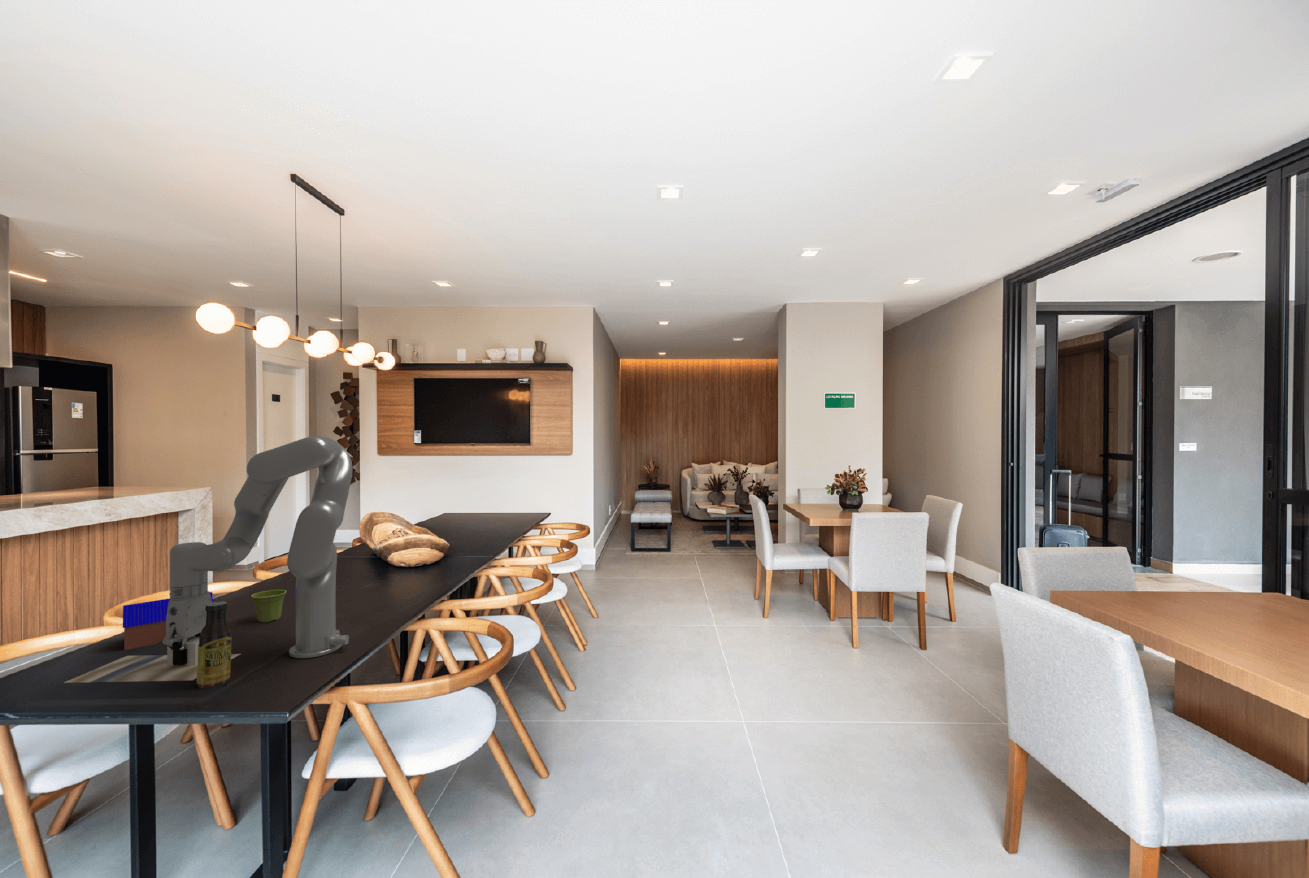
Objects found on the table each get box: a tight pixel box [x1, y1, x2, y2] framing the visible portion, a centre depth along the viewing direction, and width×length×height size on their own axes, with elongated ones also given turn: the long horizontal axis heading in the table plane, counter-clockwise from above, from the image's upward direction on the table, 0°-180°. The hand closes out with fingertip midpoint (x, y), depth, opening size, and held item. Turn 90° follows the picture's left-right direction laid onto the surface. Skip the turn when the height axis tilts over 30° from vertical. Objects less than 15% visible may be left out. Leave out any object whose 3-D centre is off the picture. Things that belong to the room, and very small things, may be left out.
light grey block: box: [166, 636, 199, 666], centre depth 141 cm, size 7×5×6 cm
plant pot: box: [251, 589, 288, 623], centre depth 177 cm, size 9×9×9 cm
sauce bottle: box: [196, 601, 232, 689], centre depth 129 cm, size 6×6×20 cm
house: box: [122, 591, 214, 651], centre depth 162 cm, size 12×20×12 cm, turn 134°
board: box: [63, 653, 241, 684], centre depth 137 cm, size 30×16×1 cm, turn 92°
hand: (189, 659), depth 141 cm, fingers closed on light grey block, 5 cm apart
